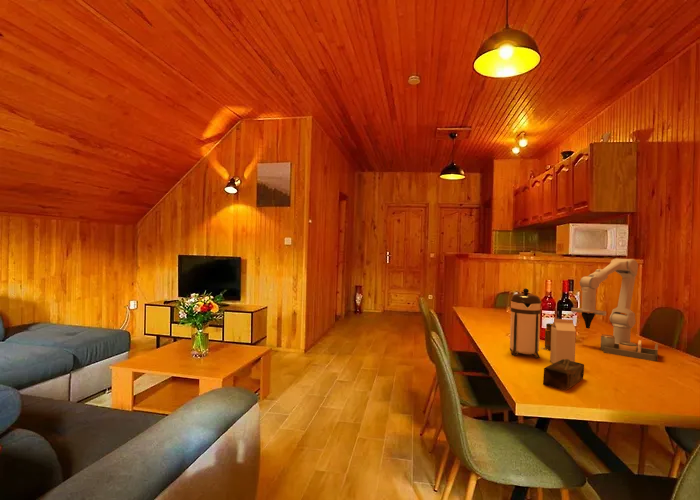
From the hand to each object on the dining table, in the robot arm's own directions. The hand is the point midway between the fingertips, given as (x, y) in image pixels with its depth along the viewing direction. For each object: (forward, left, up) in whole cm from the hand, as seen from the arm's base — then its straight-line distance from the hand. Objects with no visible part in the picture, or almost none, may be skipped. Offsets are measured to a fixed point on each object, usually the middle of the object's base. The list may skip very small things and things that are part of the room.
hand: (587, 328), depth 186 cm
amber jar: (0, +16, -9) cm, 19 cm away
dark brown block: (+64, +1, -10) cm, 65 cm away
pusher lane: (0, +17, -9) cm, 20 cm away
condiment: (+18, -11, -10) cm, 23 cm away
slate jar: (0, +8, -9) cm, 12 cm away
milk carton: (+42, -3, -10) cm, 43 cm away
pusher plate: (0, +20, -9) cm, 22 cm away
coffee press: (+36, -20, -10) cm, 43 cm away
